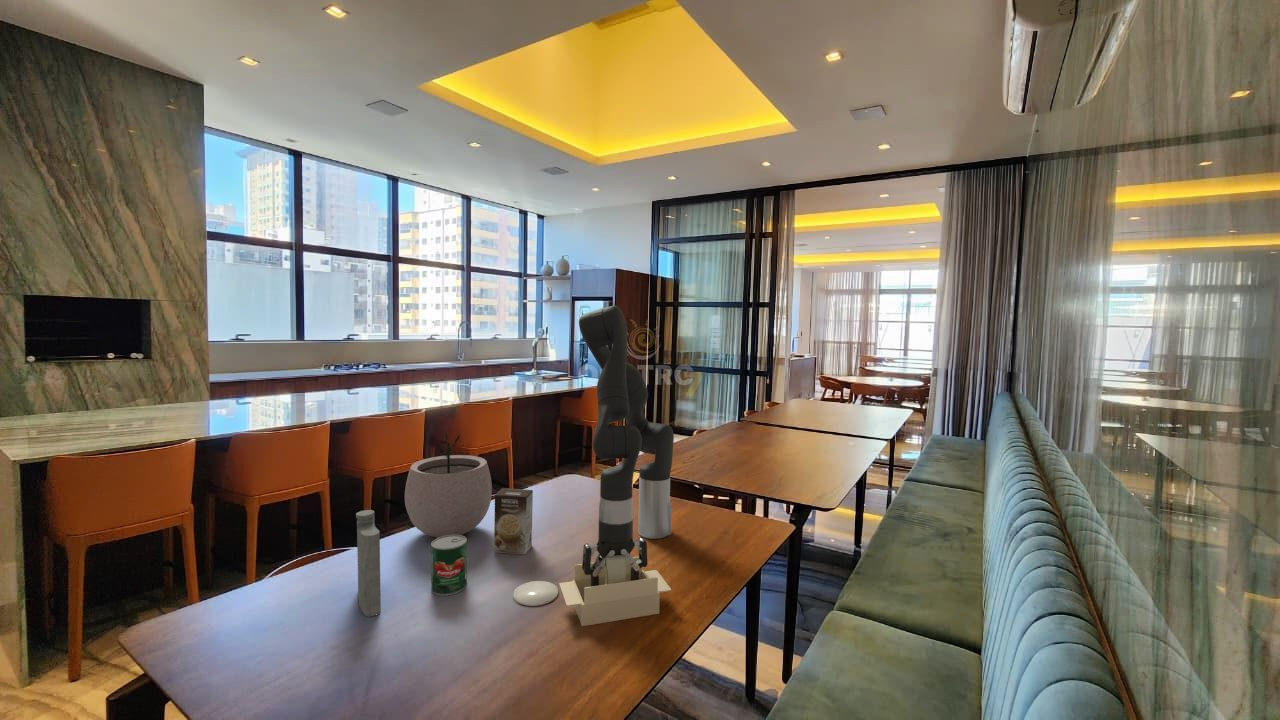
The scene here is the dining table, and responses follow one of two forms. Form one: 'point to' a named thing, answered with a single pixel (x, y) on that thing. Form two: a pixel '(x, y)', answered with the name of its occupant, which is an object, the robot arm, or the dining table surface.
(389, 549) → the dining table surface
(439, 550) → the canned tomato
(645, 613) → the carton
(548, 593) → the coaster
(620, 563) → the skincare box
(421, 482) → the plant pot
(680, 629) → the dining table surface
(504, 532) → the coffee box
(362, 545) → the hip flask
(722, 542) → the dining table surface
